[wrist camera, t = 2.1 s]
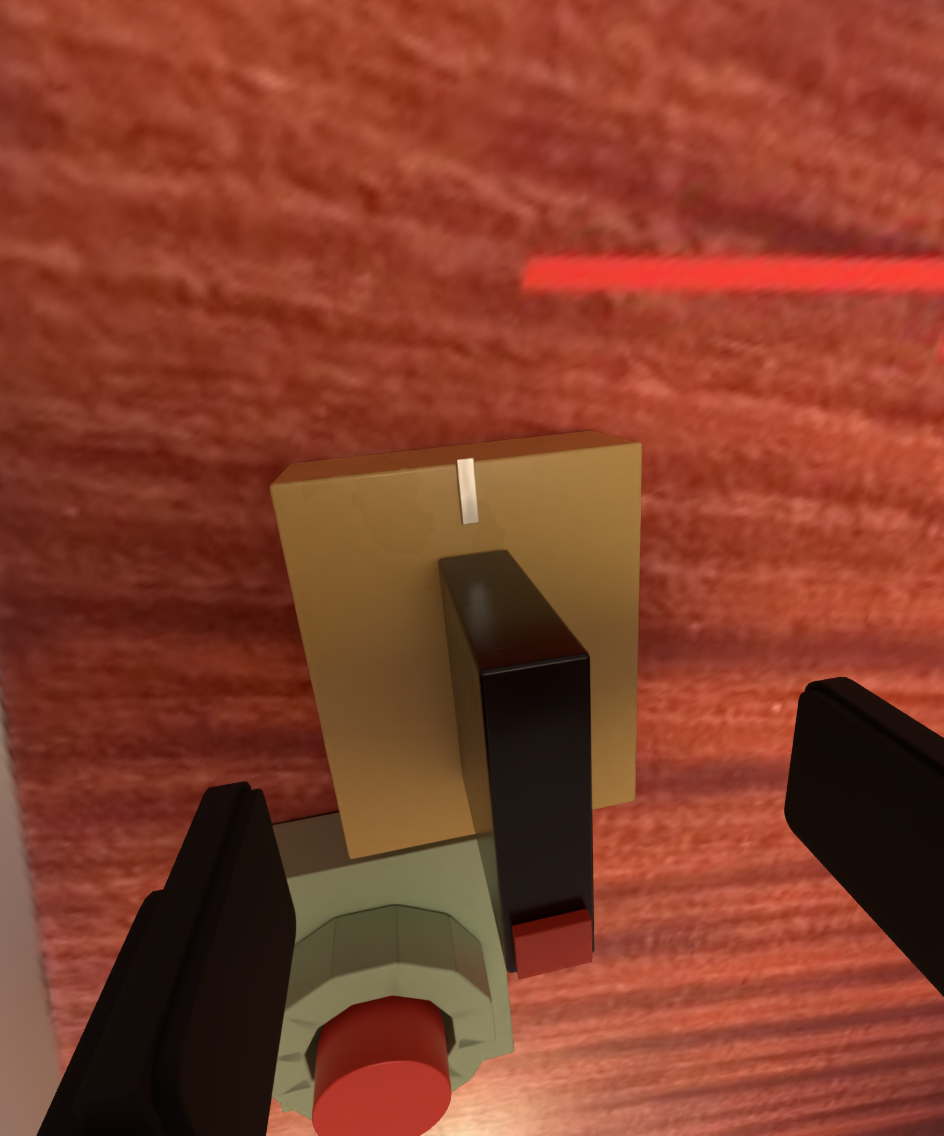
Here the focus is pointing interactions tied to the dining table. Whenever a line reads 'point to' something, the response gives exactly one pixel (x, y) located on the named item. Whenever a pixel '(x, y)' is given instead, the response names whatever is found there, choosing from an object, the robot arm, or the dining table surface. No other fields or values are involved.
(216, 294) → the dining table surface
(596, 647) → the plate
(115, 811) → the dining table surface
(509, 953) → the block
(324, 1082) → the release button
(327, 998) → the button block
